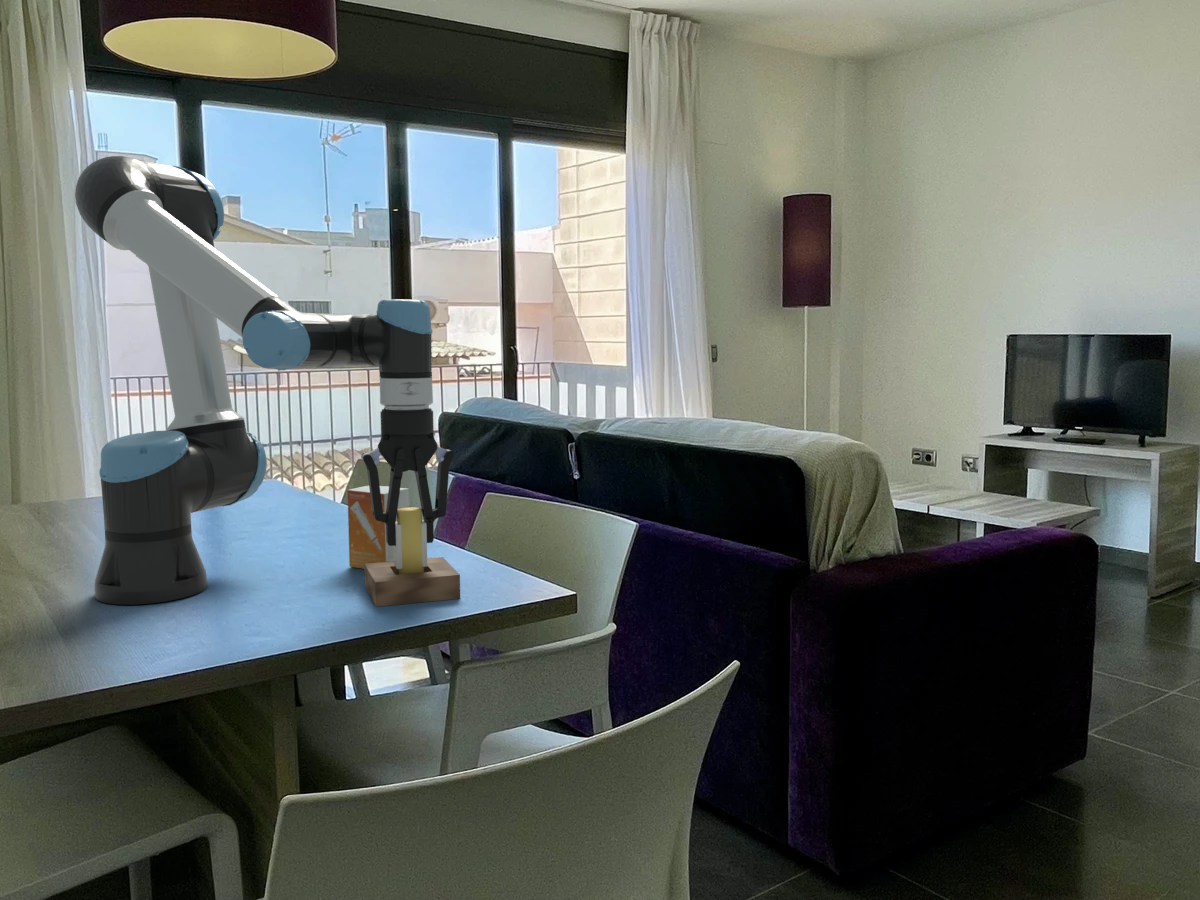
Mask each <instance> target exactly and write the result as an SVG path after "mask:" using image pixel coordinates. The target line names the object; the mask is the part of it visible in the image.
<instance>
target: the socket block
mask: <svg viewBox="0 0 1200 900" xmlns="http://www.w3.org/2000/svg"><path fill="white" fill-rule="evenodd" d="M364 567H365V569H364V586H365V589H366V591H367V593H368V594H369V596H370V598H371V600H372V602H373V604H374V606H375V607H385V606H397V605H406V604H415V603H417V604H418V603H428V602H436V601H437V602H438V601H446V600H447V601H448V600H457V599H461V575H460V573H459V572H458V571H457V570H456V569H455V568H454V567H453V566H452V565H451V563H449V562H448V561H447V560H446V559H445V558H444V556H441V557H440V556H439V557H427V567H424V572H422V573H411V574H399V569H397V568H396V567H395V565H394V561H390V562H378V563H365V564H364Z"/></svg>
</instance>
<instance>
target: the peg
mask: <svg viewBox="0 0 1200 900" xmlns="http://www.w3.org/2000/svg"><path fill="white" fill-rule="evenodd" d="M422 520H423V514H422V509H421V507H415V506H413V507H409V508H401V509H397V524H399V525H401V536H402V569H399V574H411V573H422V572H424V567H422V535H421V523H422Z"/></svg>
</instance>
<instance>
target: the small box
mask: <svg viewBox="0 0 1200 900" xmlns="http://www.w3.org/2000/svg"><path fill="white" fill-rule="evenodd" d="M388 492H389V485H386V486H385V485H384V486H383V485H380V493H381V501H382V509H383V512H384V513H386V508H387V500H388ZM410 501H411V500H410V488H406V487H404V488H403V487H400V494H399V501H398V509H401V508H409V507H410ZM347 514H348V515H347V520H348V521H347V522H348V524H347V525H348V526H347V527H348V554H349V555H348V556H349V557H348V559H349V561H348V562H349V563H348V564H349V567H350V568H357V569H364V570H365V567H364V564H365V563H378V562H390V561H394V546H389V545H388V543H387V541H386V523H384V522H381V521H377V520H376V519H375V518H374V517H373V513H372V505H371V497H370V489H369V485H364V486H359V487H356V488H350V489H347ZM396 522H397V517H396Z"/></svg>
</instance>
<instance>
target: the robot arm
mask: <svg viewBox="0 0 1200 900" xmlns="http://www.w3.org/2000/svg"><path fill="white" fill-rule="evenodd" d="M74 191H75V192H74V198H75V205H76V207H77V210H78V213H79V216H81V218H82V220H83V221H84V223H85V224H86V226H88V227H89V229H90V230H91V231H92V232H94V233H95V234H96V235H97V236H98V237H100V238H101V239H102V240H103V241H104V242H106V243H108V244H109V245H110V246H111V247H112V248H115V249H117V250H120V251H130V252H131V253H132V254H133V255H135V257H137V258H138V259H139V260H140V261H142V262H143V263H145V265H147V267H148V271H149V272H148V273H149V279H150V281H151V289H152V294H153V299H154V305H155V312H156V317H157V323H158V328H159V334H160V339H161V340H160V341H161V345H162V351H163V356H164V362H165V367H166V374H167V377H168V378H167V379H168V385H169V389H170V394H171V402H172V407H173V412H174V419H173V420H172V421H171V423H170V424H169V425H168V426H167V428H166V430H152V431H147V432H137V433H133V434H132V433H131V434H129V435H124V436H120V437H117V438H114V439H112V440H110V441H108V442H107V443H106V444H104V445H103V447H102V449H101V452H100V468H99V477H100V484H101V496H102V497H101V498H102V510H103V525H104V527H103V528H104V539H105V540H104V549H103V552H102V556H101V559H100V562H99V566H98V569H97V573H96V576H95V580H94V597H95V600H97V601H99V602H101V603H104V604H111V605H132V606H133V605H146V604H156V603H163V602H170V601H174V600H180V599H184V598H188V597H190V596H191V597H192V596H194V595H196V594H200V593H201V592H203V591H204V590H205V589H207V588H208V587H207V586H208V579H207V578H208V577H207V571H206V569H205V566H204V563H203V561H202V558H201V556H200V553H199V551H198V549H197V547H196V546H197V545H196V544H195V541H194V539H193V533H192V532H193V531H192V514H193V513H196V512H197V513H198V512H201V511H206V510H210V509H214V508H215V509H216V508H218V507H227V506H232V505H234V504H237V503H239V502H241V501H245V500H247V499H248V498H250V497H252V496H253V495H254V494H256V492H257V491H258V490H259V487H261V485H262V483H263V482H264V480H265V477H266V472H267V466H268V465H267V462H268V461H267V460H268V459H267V455H266V450H265V447H264V445H263V443H262V442H261V441H260V440H258V439H257V437H256V435H255V434H253V433H251V432H249V431H247V428H246V421H245V417H243V416H242V415H240V414H239V413H238V412H236V411H235V410H234V409H233V406H232V405H233V404H232V401H231V394H230V388H229V383H228V377H227V370H226V364H225V358H224V354H223V347H222V342H221V337H220V336H221V335H220V331H219V325H218V320H219V321H220V322H221V323H223V324H224V325H225V326H226V327H227V328H229V329H230V330H232V331H233V332H235V334H236V335H238V336H240V337H241V338H242V345H243V346H242V347H243V349H244V350H245V351H246V354H247V357H248V358H249V359H250V361H252V363H254V364H255V365H257V366H258V367H261V368H263V369H275V370H280V371H285V370H293V369H303V368H322V367H342V366H344V367H345V366H346V367H347V366H357V367H358V366H372V367H374V366H375V367H376V366H377V367H378V371H379V404H380V405H381V406H383V408H382V409H381V411H380V441H379V442H378V444H377V448H375V449H374V450H371V451H369V452H363V453H362V454H361V460H362V463H363V464H364V466H365V468H366V470H367V471H366V473H367V481H368V486H369V489H370V497H371V505H372V513H373V517H374V518H375V519H376V520H377V521H381V522H384V523H386V541H387V543H388V545H389V546H394V565H395V567H396V568H397V569H402V536H401V525H399V524H397V522H396V517H397V509H398V501H399V494H400V488H401V484H402V479H403V474H404V472H408V471H412V472H413V473H414V475H415V481H416V484H417V485H416V486H417V491H418V497H419V501H420V502H419V503H420V508H421V509H422V523H421V535H422V567H427V558H428V544H431V543H433V542H434V538H435V537H434V535H435V534H434V533H435V531H434V527H435V526H434V523H435V521H436V519H439V518H442V517H445V516H446V513H447V506H448V505H447V503H448V489H449V488H448V486H449V474H450V466H451V464H452V461H453V460H454V457H455V453H454V451H452V450H451V449H447V448H446V449H445V448H443V447H440V446H438V443H437V441H436V439H435V433H434V430H435V429H434V410H433V409H432V408H431V407H430V405H432V404H433V403H434V398H433V397H434V396H433V394H434V393H433V392H434V390H433V371H432V369H433V367H432V363H433V362H432V361H433V359H432V357H433V356H432V334H433V329H432V319H431V309H430V308H431V307H430V305H429V304H428V302H426V301H425V300H421V299H403V298H402V299H397V298H396V299H382V300H379V301H378V304H377V308H376V309H377V310H376V313H370V314H369V313H368V314H364V313H362V314H361V313H360V314H358V313H357V314H356V313H352V314H351V313H316V312H301V311H299V310H297V309H296V308H295V307H293V306H292V305H290V304H289V303H288V302H286V301H285V300H283V299H282V298H281V297H279V295H277V294H276V293H275V292H273V291H272V290H270V289H269V288H268V287H266V285H264V284H263V283H262V282H260V281H259V280H257V279H256V278H255V277H254V276H252V275H251V274H250V273H248V272H246V271H245V270H244V269H243V268H241V267H240V266H239V265H237V264H236V263H235V262H233V261H232V260H231V259H229V258H228V257H227V256H226V255H225V254H223V253H222V252H221V251H219V250H218V249H216V248H215V243H214V241H215V240H216V239H217V238H218V236H219V235H220V234H221V232H222V231H221V229H220V228H221V227H223V225H224V222H225V210H224V204H223V200H222V198H221V196H220V193H219V192H218V190H217V189H216V187H215V186H214V184H212V182H211V181H210V180H209V179H208V178H206V177H204V176H203V175H202V174H199V173H197V172H195V171H192V170H188V168H184V167H181V166H176V165H166V164H162V163H158V162H152V161H146V160H142V159H137V158H134V157H129V156H123V155H112V156H105V157H103V158H99V159H96V160H95V161H92V162H91V163H90V164H88V166H86V167H85V169H84V170H83V171H82V172H81V173H80V175H79V177H78V178H77V181H76V185H75V190H74ZM434 455H435V459H436V462H437V463H438V464H437V470H436V471H437V473H436V486H435V501H434V508H433V505H432V498H431V493H430V487H429V482H428V481H429V480H428V473H427V472H428V471H427V468H426V467H427V465H428V463H429V462H430V461H431V459H432V458H433V456H434ZM380 457H382V458H383V459H384V460H385V462H386V463H387V464H388V465H389V467H390V472H389V473H390V476H389V477H390V478H389V485H388V486H389V492H388V500H387V508H386V513H384V512H383V509H382V501H381V493H380V486H381V484H380V478H379V470H378V467H377V466H378V465H379V464H380Z"/></svg>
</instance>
